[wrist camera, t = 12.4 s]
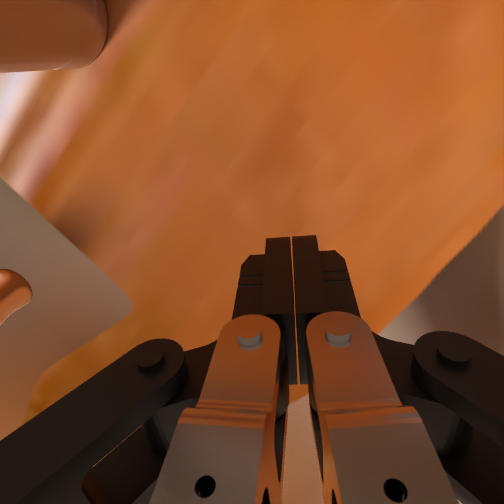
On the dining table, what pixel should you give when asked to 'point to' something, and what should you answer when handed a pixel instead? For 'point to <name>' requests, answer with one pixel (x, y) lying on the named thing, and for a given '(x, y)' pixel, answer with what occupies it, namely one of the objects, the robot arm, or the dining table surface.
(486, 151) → the dining table surface
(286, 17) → the dining table surface
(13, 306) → the beer glass
